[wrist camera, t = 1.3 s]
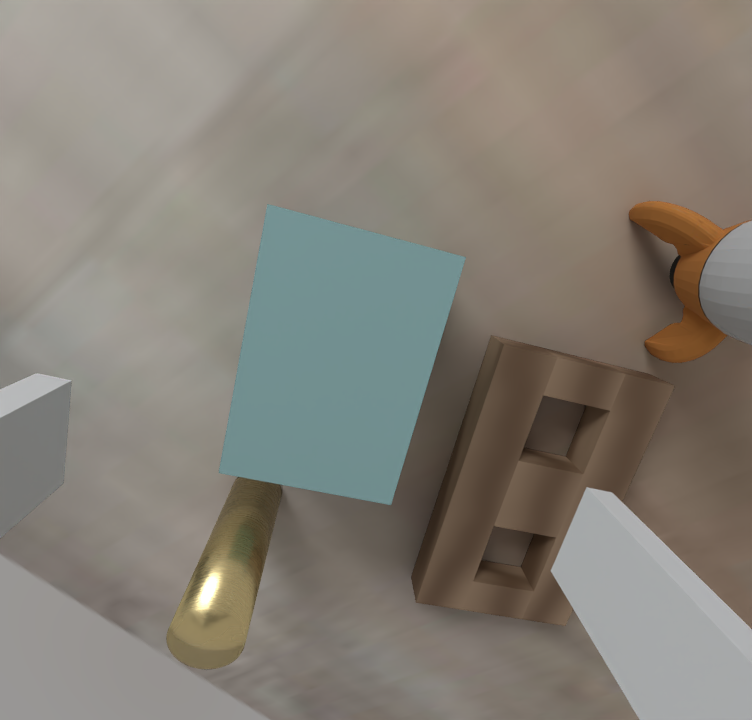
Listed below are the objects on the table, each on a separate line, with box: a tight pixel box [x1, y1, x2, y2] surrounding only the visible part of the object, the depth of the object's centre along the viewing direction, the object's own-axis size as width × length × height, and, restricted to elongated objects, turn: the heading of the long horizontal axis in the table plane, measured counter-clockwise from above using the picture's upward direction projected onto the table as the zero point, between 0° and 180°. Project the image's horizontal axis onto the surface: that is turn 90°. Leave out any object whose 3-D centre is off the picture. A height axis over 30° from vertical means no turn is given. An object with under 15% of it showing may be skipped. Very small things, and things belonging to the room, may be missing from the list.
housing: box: [219, 204, 466, 505], centre depth 24 cm, size 9×13×9 cm
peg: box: [166, 477, 282, 669], centre depth 26 cm, size 4×4×12 cm
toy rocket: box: [629, 201, 752, 363], centre depth 23 cm, size 10×11×15 cm
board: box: [411, 335, 675, 626], centre depth 32 cm, size 12×20×2 cm, turn 166°
